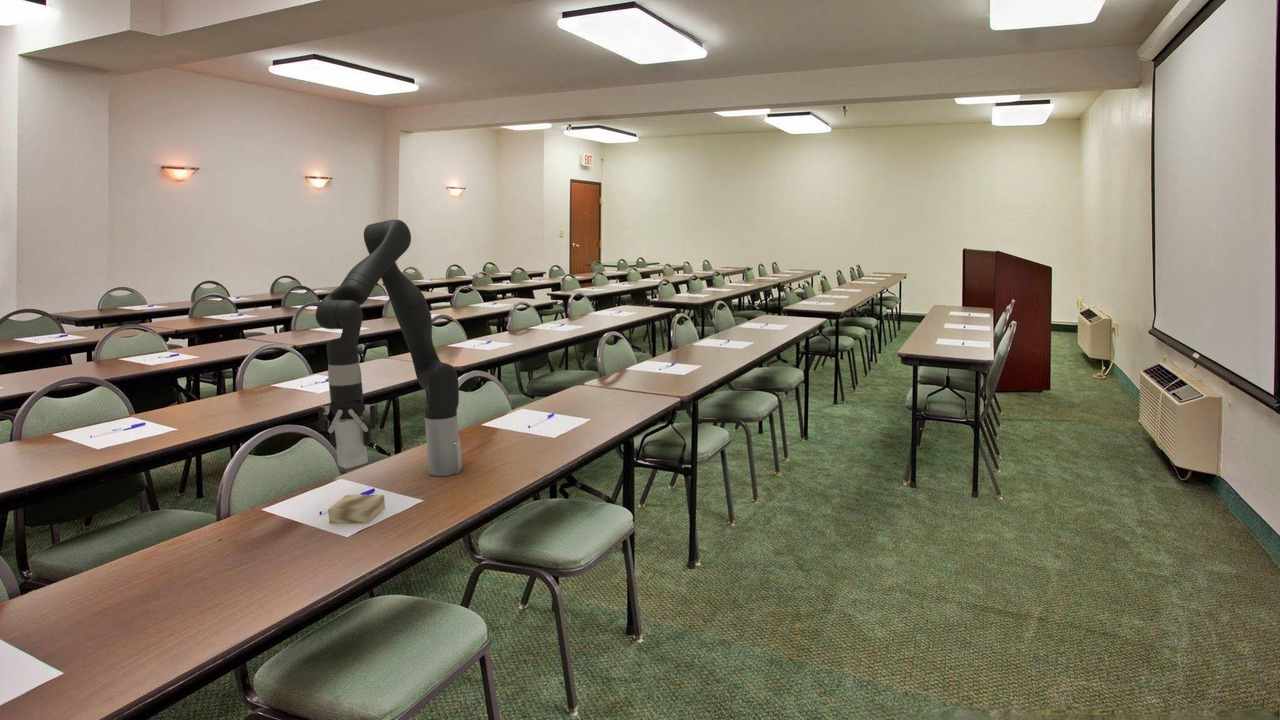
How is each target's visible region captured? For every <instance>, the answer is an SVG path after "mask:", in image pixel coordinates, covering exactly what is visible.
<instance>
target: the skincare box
mask: <svg viewBox="0 0 1280 720" xmlns="http://www.w3.org/2000/svg"><path fill="white" fill-rule="evenodd" d="M360 418H361V419H363V417H361V416H360ZM334 430H335V439H336V447H335V448H336V456H337V457H336V458H337V465H338V466H339V467H341V468H343V469H349V468H353V467H356V466H360V465H364V464H367V463H368V462H369V460H368V446H364V439H363V432H364V430H363V429H362V428H361V426H360V425H358V424H357V422H356V421H355V420H354V419H340V420H336V426H335V429H334Z"/></svg>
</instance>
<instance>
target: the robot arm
mask: <svg viewBox="0 0 1280 720" xmlns="http://www.w3.org/2000/svg"><path fill="white" fill-rule="evenodd" d="M363 239H364V244H365V247H366V251H367V252H368V254H369V255H367V256H366V257H365V258H363V259H362V260H360V261H359V262H358V263H357V264H356V265H354V266H353V267H352V269H351V270H350V271H349V272H348V274H346V276H345V278H344V279H343V280H342V282H341V284H340V285H339V286H338V287H337V288H335V289H333V290H332V291H331V292H330V293H328V294H327V295H326V296H325V297H324V298H323V299H322V300H321V301H319V303H318V304H317V307H316V310H315V320H316V323H317V324H318V325H319V326H320V327H321V328H323V329H327V330H341V335H340V337H338V338H334V339H330V340H329V341H328V342H327V344H326V355H327V363H328V365H327V366H328V367H327V368H328V369H327V380H328V381H327V382H328V388H329V397H330V405H321V406H319V407H317V413H318V414H317V415H318V422H319V428H320V430H321V431H322V432H327V433H328V434H329V443H330V445H331V446H332V447H333V448H336V439H335V430H334V429H335V426H336V420H340V419H354V420H355V421H356V422H357V424H358V425H360V426H361V428H362V429H363V430H364V432H363V439H364V446H366V447H368V446H369V445H370V444H371V442H372V441H373V440H372V432H371V431H372V430H375V429H376V428H377V427H378V426H379V415H378V414H379V413H378V410H379V409H378V404H377V403H373V404H366V403H365V401H364V394H363V393H364V391H363V381H362V370H361V369H362V368H361V366H360V360H359V358H360V357H359V347H358V346H359V339H360V334H361V328H362V324H363V317H364V316H363V310H362V307H361V306H362V305H363V304H365V303H366V301H367V299H368V298H369V297H370V295H371V294H372V292H373V290H374V288H375V287H376V285H378V283H379V281H380V280H381V281H382V283H383V286H384V288H385V290H386V293H387V295H388V298H389V301H390V303H391V307H392V310H393V312H394V316H395V318H396V320H397V323H398V325H399V327H400V329H401V332H402V335H403V337H404V340H405V342H406V345H407V348H408V350H409V353H410V356H411V360H412V363H413V369H414V372H415V375H416V379H417V382H418V384H419V386H420V387H421V388H422V389H423V390H425V391H427V392H428V395H429V396H428V397H429V399H428V400H429V401H428V402H429V403H428V404H427V405H426V406H425V407H424V408H423V409H424V410H423V411H424V412H423V413H424V423H425V425H424V426H425V438H426V452H427V454H426V455H427V469H428V474H429V475H431V476H434V477H447V476H452V475H459V474H460V472H461V470H462V468H463V465H462V463H463V462H462V450H461V449H462V448H461V447H462V446H461V438H460V437H459V427H458V411H457V410H458V408H459V403H460V402H459V401H460V399H459V398H460V396H459V395H460V393H459V376H458V372H457V370H456V368H455V367H454V366H453V365H451V364H449V363H445V362H442V361H441V359H440V358H439V356H438V354H437V350H436V348H435V346H434V341H433V337H432V336H433V319H432V315H431V311H430V307H429V305H428V302H427V299H426V298H425V295H424V293H423V292H422V291H421V289H420V288H418V286H416V285H415V283H413V282H412V281H411V280H410V278H408V277H407V276H406V275H405V274H404V273H403V272H402V271H401V269H400V268H399V267H398V265H397V263H396V262H397V261H398V260H399V258H400V257H401V256H402V255H403V254H405V252H407V251H408V249H409V248H410V246H411V243H412V234H411V231H410V228H409V226H408V225H407V224H406V223H405V222H404V221H402V220H400V219H387V220H384V221H383V220H382V221H380V222H375V223H370V224H367V225H366V226H365V228H364V231H363ZM364 411H367V414H369V419H370V421H368V420H367V417H366V416H365V415H364ZM330 413H331V414H333V416H334V417H333V419H332V421H331V424H329V419H328V415H329V414H330ZM360 416H361V417H363V419H361V418H360ZM369 422H370V423H369Z"/></svg>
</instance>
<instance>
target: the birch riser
mask: <svg viewBox="0 0 1280 720" xmlns="http://www.w3.org/2000/svg"><path fill="white" fill-rule="evenodd" d="M385 503H386V501H385V495H384V494H346V495H344V496H343V497H342V498H340V499H339V500H338V501H337V502H335V503H334V504H333V505H331V506H330V507H329V508H328V509H327V512H328V523H329V524H365V523H367V524H370V523H371V522H372V521H373V520H374V519H376V517H377V516H379V515H380V512H381V511H382V510H383V509H384V508H385V509H386V505H385ZM385 509H384V510H385ZM384 510H383V511H384ZM383 511H382V512H383Z"/></svg>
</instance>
